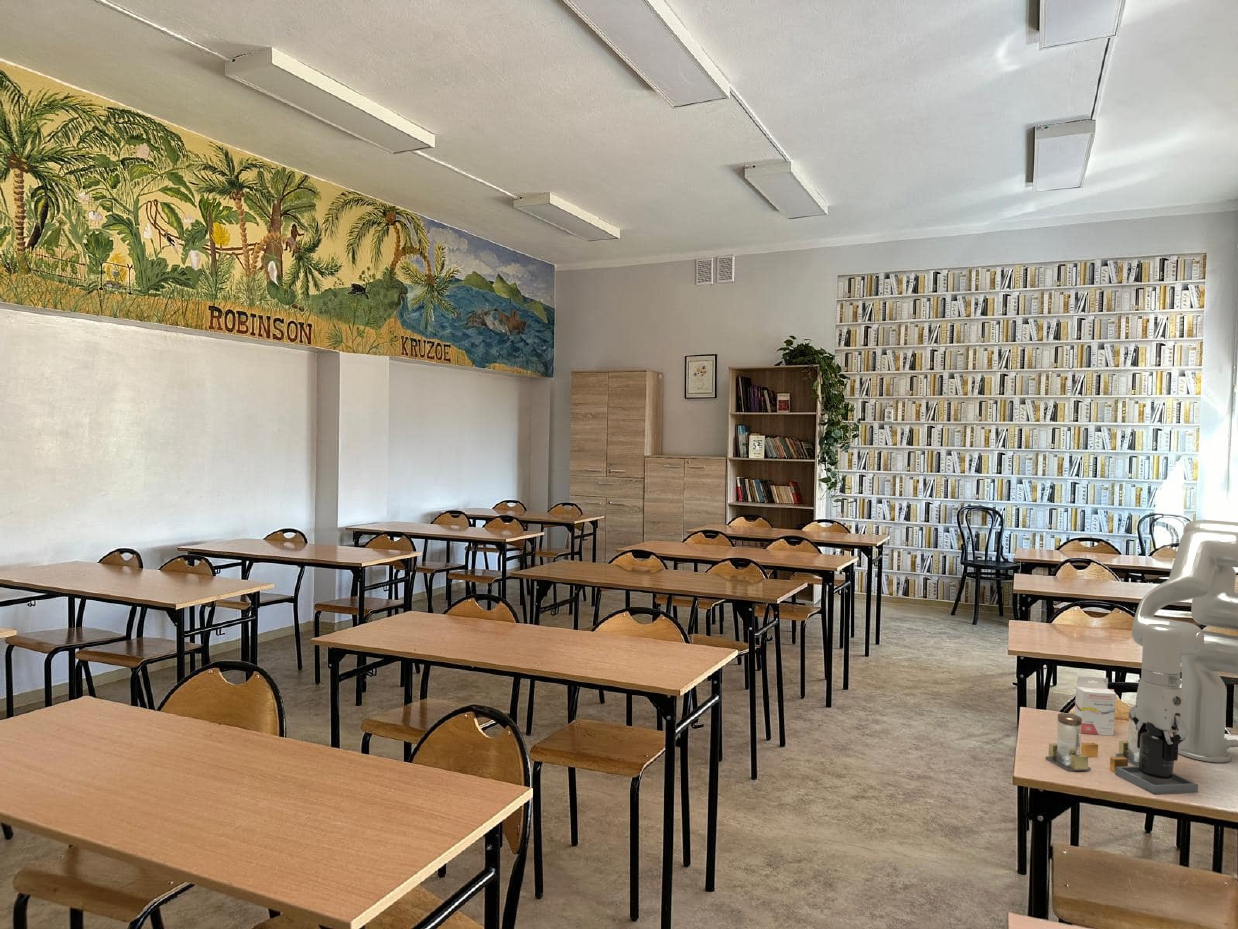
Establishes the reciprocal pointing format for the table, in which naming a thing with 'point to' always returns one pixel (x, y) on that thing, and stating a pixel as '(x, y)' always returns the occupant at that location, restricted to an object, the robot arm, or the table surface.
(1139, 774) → the tray
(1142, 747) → the supplement bottle
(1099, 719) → the ink cartridge box
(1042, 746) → the table surface
